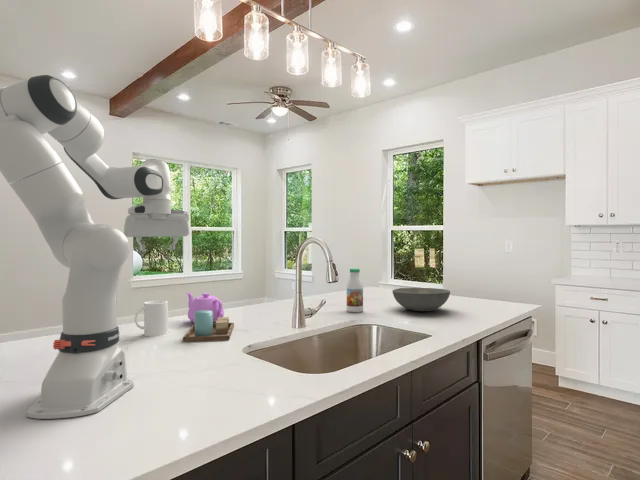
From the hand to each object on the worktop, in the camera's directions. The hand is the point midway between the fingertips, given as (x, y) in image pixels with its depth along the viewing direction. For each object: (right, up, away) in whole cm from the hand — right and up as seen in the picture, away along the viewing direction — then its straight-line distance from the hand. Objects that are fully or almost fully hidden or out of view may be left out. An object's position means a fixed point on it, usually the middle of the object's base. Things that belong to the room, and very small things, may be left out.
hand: (157, 250), depth 134 cm
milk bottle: (+71, -30, +52) cm, 93 cm away
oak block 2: (+19, -30, +11) cm, 37 cm away
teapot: (+7, -31, +29) cm, 43 cm away
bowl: (+102, -30, +53) cm, 119 cm away
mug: (-6, -31, +10) cm, 33 cm away
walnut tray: (+15, -31, +10) cm, 36 cm away
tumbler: (+14, -30, +4) cm, 34 cm away
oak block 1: (+18, -30, +17) cm, 39 cm away
